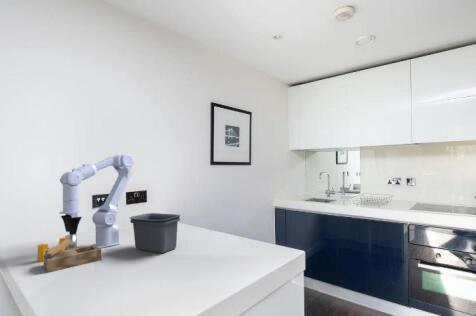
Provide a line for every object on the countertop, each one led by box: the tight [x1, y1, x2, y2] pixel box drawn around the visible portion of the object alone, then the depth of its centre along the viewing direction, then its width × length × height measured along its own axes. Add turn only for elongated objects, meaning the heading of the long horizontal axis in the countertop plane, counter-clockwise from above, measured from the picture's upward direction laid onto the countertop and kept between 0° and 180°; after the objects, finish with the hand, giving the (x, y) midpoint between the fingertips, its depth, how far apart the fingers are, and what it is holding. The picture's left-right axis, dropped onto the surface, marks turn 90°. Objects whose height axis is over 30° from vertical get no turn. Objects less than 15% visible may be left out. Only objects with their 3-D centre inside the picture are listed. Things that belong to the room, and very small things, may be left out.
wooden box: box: [43, 244, 102, 273], centre depth 100 cm, size 17×10×6 cm, turn 133°
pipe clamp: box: [37, 236, 65, 263], centre depth 108 cm, size 12×4×6 cm, turn 170°
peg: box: [65, 233, 78, 250], centre depth 110 cm, size 4×4×8 cm
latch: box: [45, 239, 71, 257], centre depth 97 cm, size 8×4×1 cm
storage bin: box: [129, 212, 182, 254], centre depth 115 cm, size 21×16×14 cm
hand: (71, 232), depth 110 cm, fingers open, 7 cm apart
